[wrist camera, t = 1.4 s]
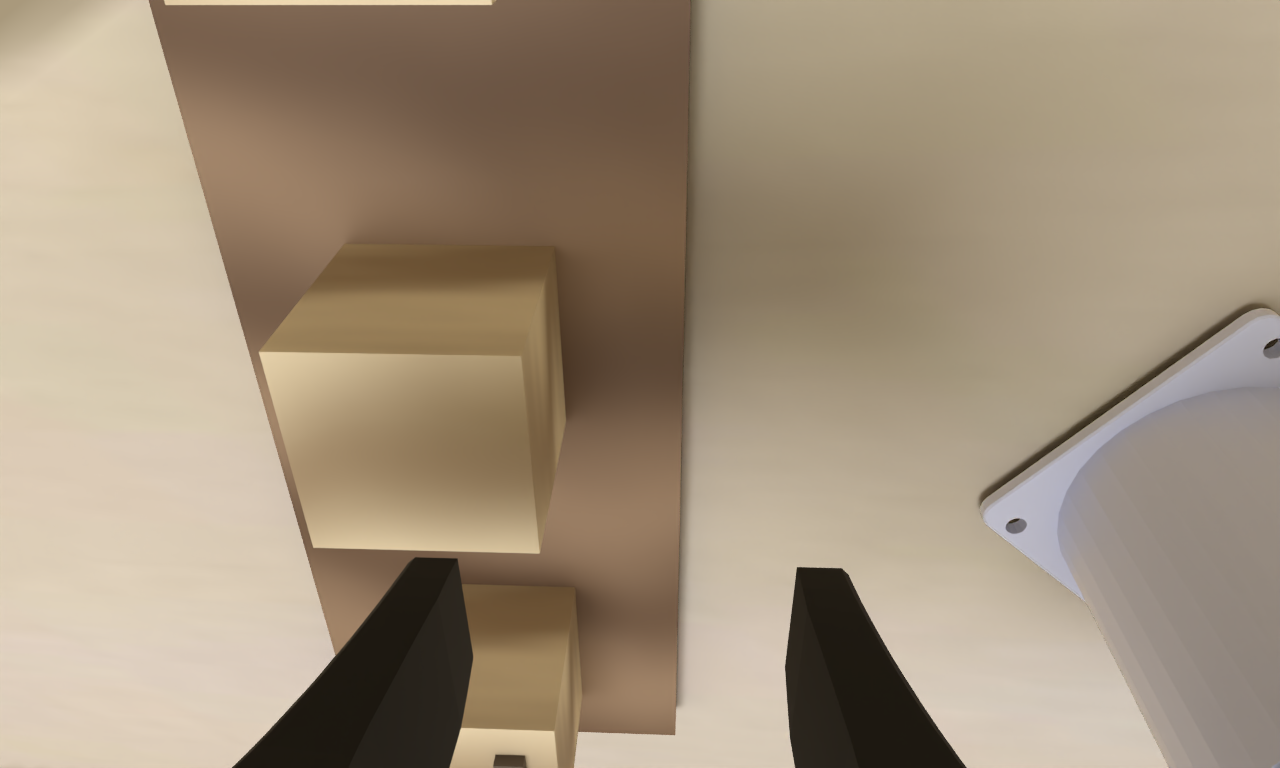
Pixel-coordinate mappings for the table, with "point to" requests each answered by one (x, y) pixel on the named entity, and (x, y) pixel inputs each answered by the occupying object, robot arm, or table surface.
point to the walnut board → (481, 215)
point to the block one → (329, 2)
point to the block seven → (521, 678)
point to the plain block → (423, 397)
